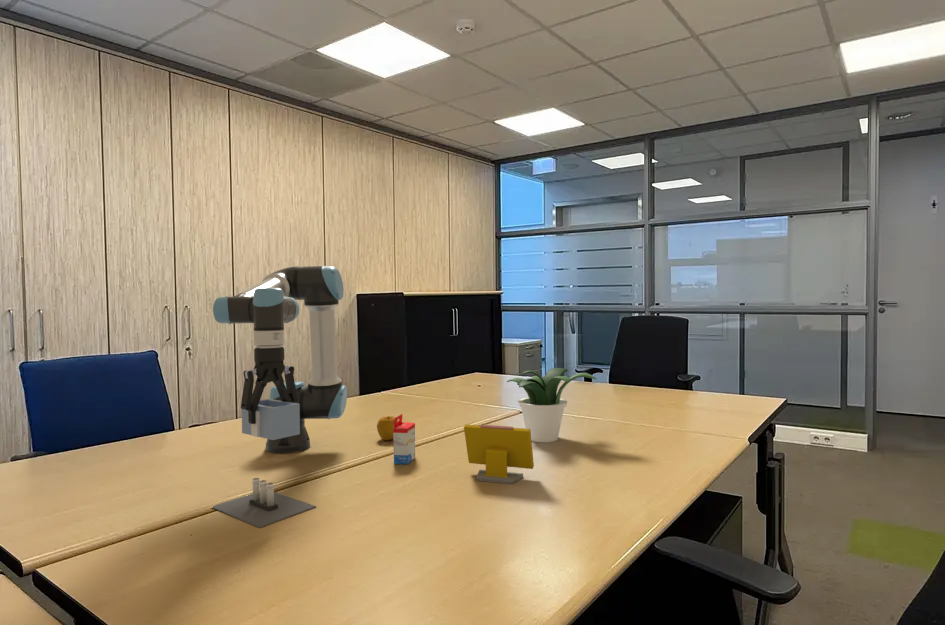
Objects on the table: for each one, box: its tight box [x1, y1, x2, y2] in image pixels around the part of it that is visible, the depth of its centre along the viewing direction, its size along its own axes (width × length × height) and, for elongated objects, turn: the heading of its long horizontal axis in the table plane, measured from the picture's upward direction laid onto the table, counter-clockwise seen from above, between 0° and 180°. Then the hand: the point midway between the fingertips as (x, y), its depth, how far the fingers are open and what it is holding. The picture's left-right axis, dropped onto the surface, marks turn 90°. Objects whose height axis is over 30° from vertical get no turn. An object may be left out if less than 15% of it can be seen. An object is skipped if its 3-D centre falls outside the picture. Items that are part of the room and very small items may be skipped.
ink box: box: [392, 413, 416, 465], centre depth 186 cm, size 8×5×15 cm, turn 168°
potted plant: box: [506, 367, 597, 443], centre depth 212 cm, size 32×35×26 cm
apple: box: [376, 415, 399, 441], centre depth 213 cm, size 8×8×9 cm
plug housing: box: [241, 398, 300, 440], centre depth 150 cm, size 14×8×8 cm, turn 53°
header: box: [212, 477, 317, 529], centre depth 146 cm, size 22×16×7 cm
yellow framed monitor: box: [463, 424, 535, 485], centre depth 167 cm, size 20×8×16 cm, turn 71°
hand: (270, 432), depth 150 cm, fingers closed on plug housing, 8 cm apart
